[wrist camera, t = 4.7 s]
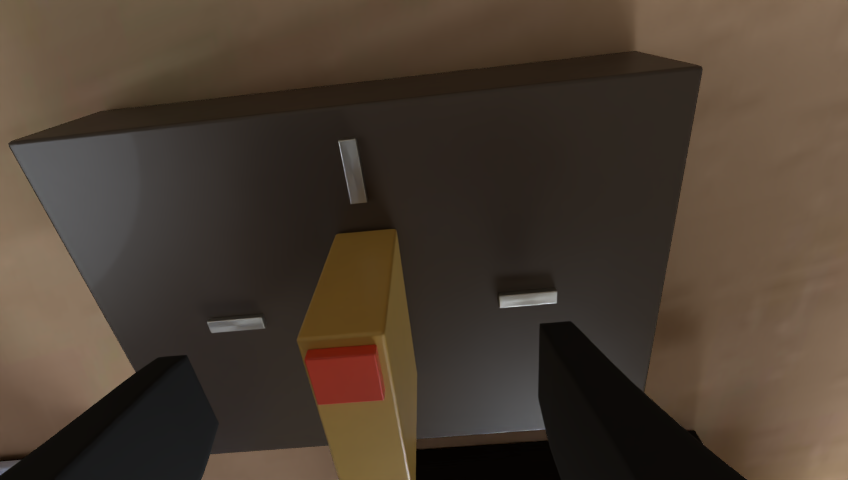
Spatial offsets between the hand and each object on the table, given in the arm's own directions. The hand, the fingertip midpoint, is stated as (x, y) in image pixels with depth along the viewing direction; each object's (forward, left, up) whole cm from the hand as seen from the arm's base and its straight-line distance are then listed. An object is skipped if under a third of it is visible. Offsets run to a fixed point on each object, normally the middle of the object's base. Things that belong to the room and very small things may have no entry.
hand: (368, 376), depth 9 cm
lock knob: (0, 0, -2) cm, 2 cm away
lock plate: (0, 0, -5) cm, 5 cm away
